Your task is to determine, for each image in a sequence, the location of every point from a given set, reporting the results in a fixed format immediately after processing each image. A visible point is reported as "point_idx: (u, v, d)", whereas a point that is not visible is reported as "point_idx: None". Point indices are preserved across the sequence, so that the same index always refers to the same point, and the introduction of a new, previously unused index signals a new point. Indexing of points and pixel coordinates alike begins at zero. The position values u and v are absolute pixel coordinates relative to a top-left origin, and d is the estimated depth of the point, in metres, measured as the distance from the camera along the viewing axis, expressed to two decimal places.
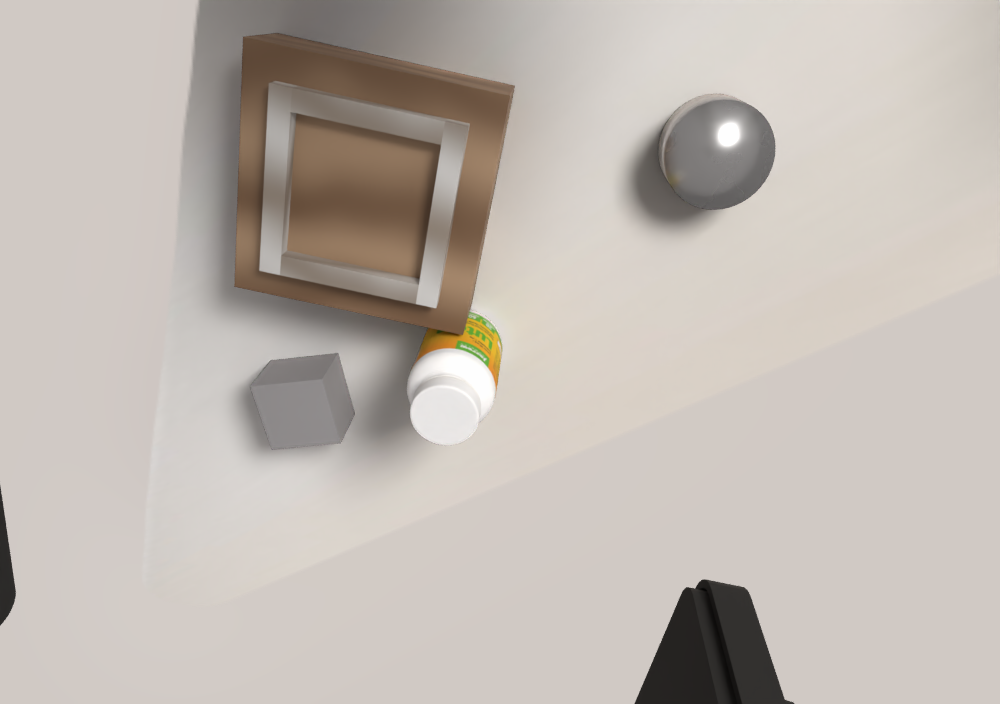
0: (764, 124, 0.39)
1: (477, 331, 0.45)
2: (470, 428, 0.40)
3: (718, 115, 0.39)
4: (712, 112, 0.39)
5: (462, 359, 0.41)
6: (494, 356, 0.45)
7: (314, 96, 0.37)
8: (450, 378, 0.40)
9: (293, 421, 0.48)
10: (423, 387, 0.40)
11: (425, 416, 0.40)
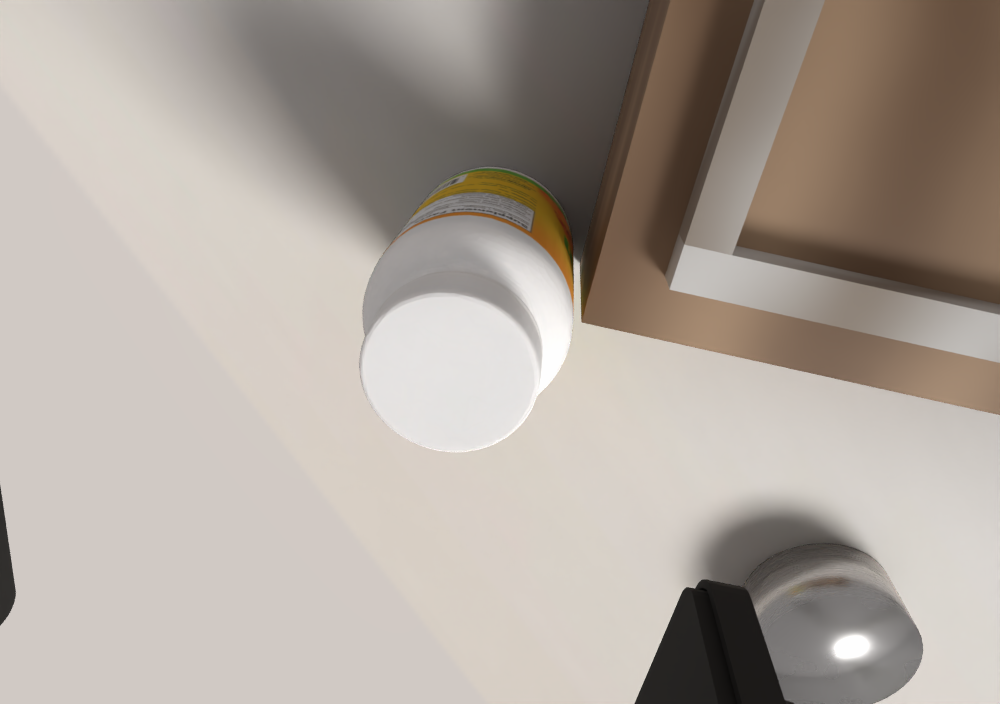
0: (872, 699, 0.28)
1: None
2: (419, 434, 0.16)
3: (899, 654, 0.27)
4: (907, 647, 0.26)
5: (559, 363, 0.18)
6: None
7: None
8: None
9: None
10: (524, 324, 0.15)
11: (444, 331, 0.15)
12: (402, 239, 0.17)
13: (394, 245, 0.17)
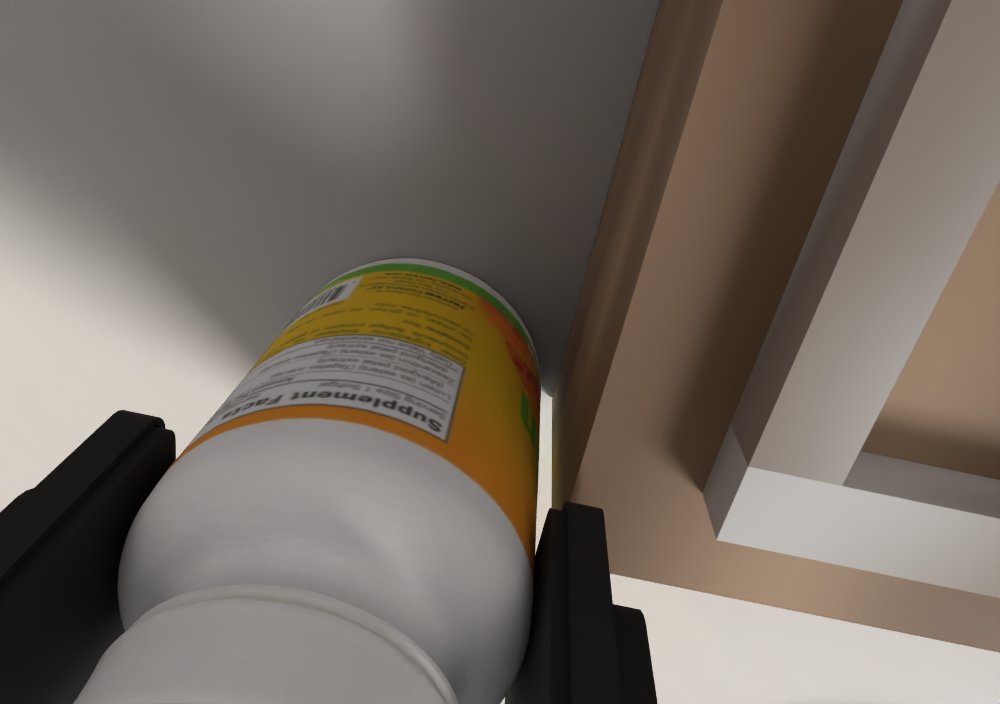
0: None
1: None
2: None
3: None
4: None
5: (506, 691, 0.09)
6: None
7: None
8: None
9: None
10: None
11: None
12: (179, 472, 0.08)
13: (165, 482, 0.08)
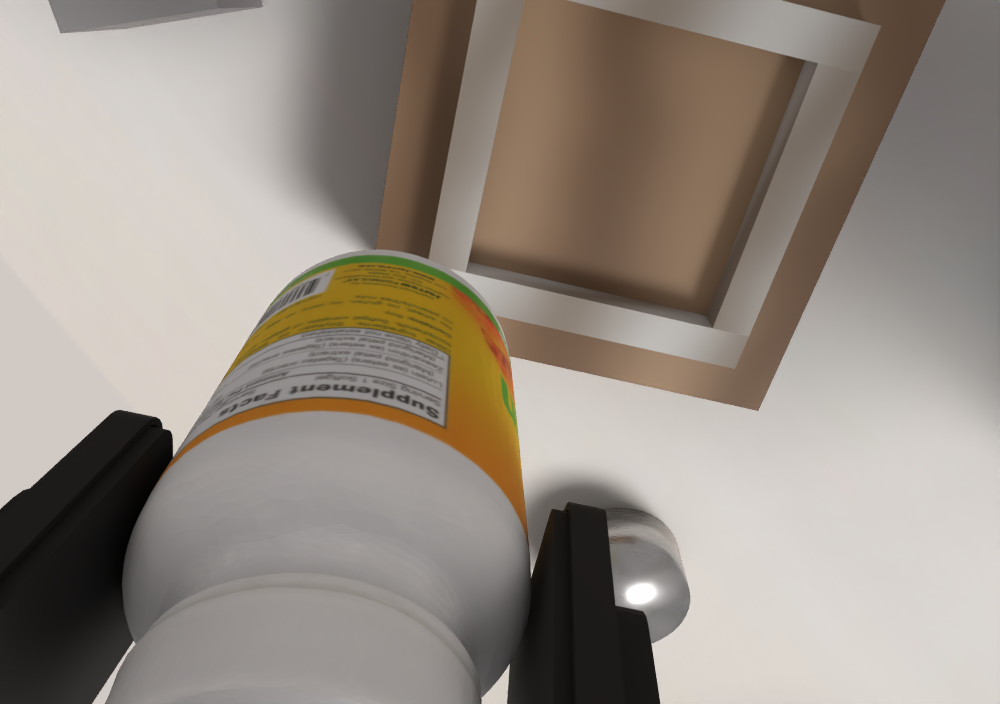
0: (655, 637, 0.33)
1: None
2: None
3: (672, 598, 0.32)
4: (677, 592, 0.32)
5: (510, 660, 0.10)
6: None
7: (835, 117, 0.20)
8: None
9: None
10: None
11: None
12: (185, 470, 0.08)
13: (170, 481, 0.09)
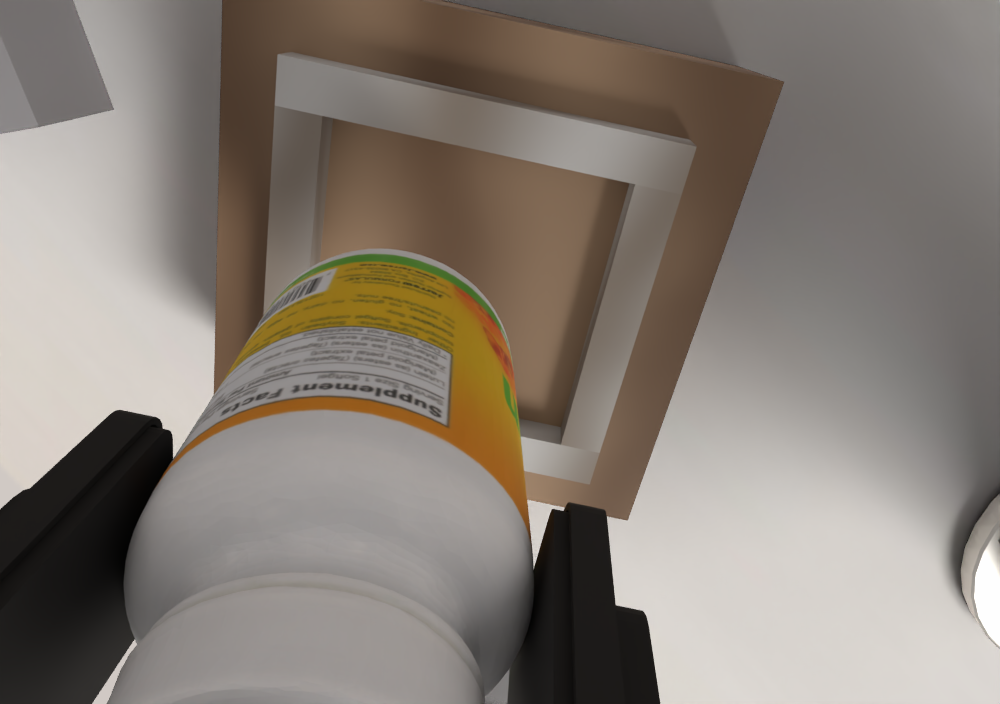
0: None
1: None
2: None
3: None
4: None
5: (513, 661, 0.10)
6: None
7: (660, 237, 0.18)
8: None
9: None
10: None
11: None
12: (187, 469, 0.08)
13: (172, 480, 0.08)
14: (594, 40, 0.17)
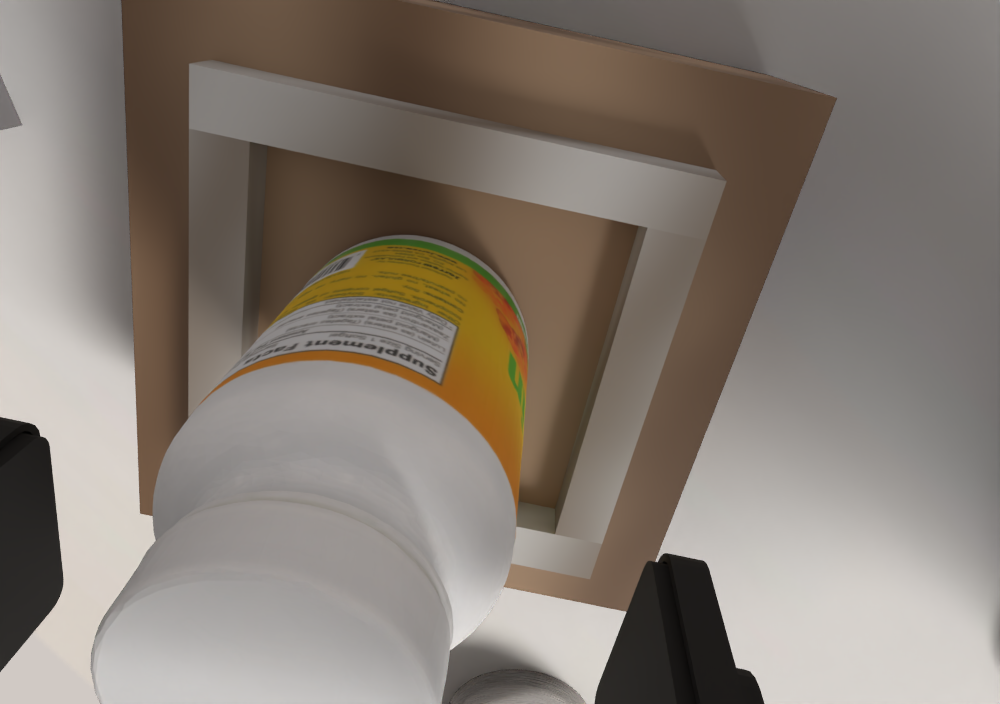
0: None
1: None
2: None
3: None
4: None
5: (491, 605, 0.10)
6: None
7: (679, 292, 0.15)
8: (447, 667, 0.09)
9: None
10: (405, 615, 0.08)
11: (243, 635, 0.08)
12: (209, 405, 0.10)
13: (196, 414, 0.10)
14: (595, 45, 0.14)
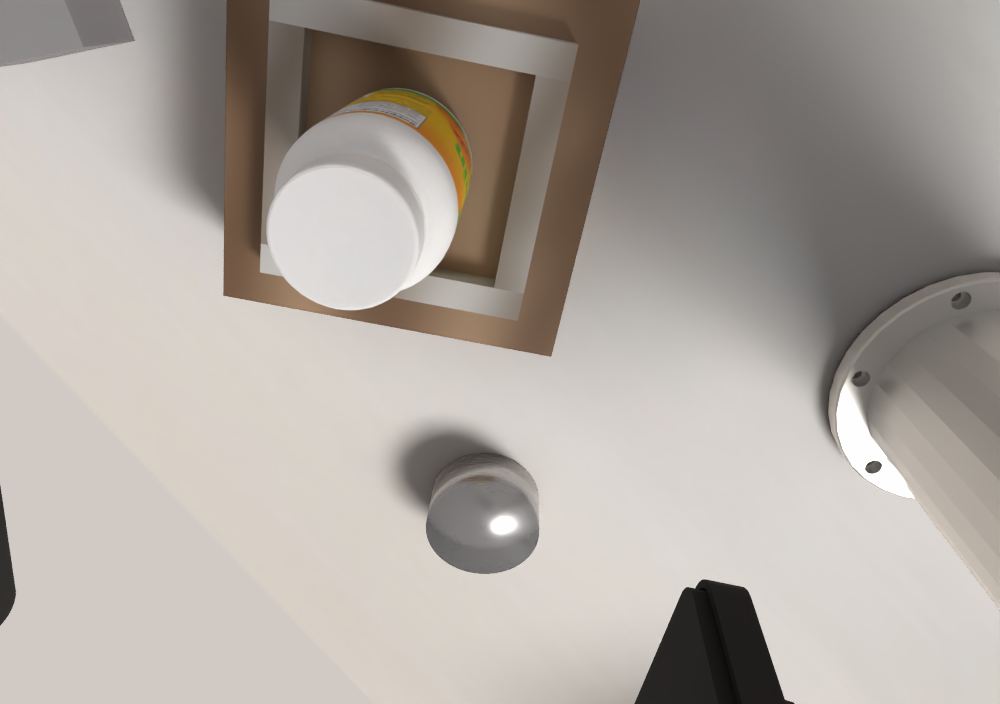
0: (515, 562, 0.39)
1: None
2: (321, 294, 0.19)
3: (523, 527, 0.38)
4: (526, 521, 0.37)
5: (445, 242, 0.21)
6: None
7: (557, 116, 0.25)
8: (423, 241, 0.19)
9: None
10: (404, 193, 0.18)
11: (335, 199, 0.18)
12: (305, 133, 0.20)
13: (298, 139, 0.20)
14: None
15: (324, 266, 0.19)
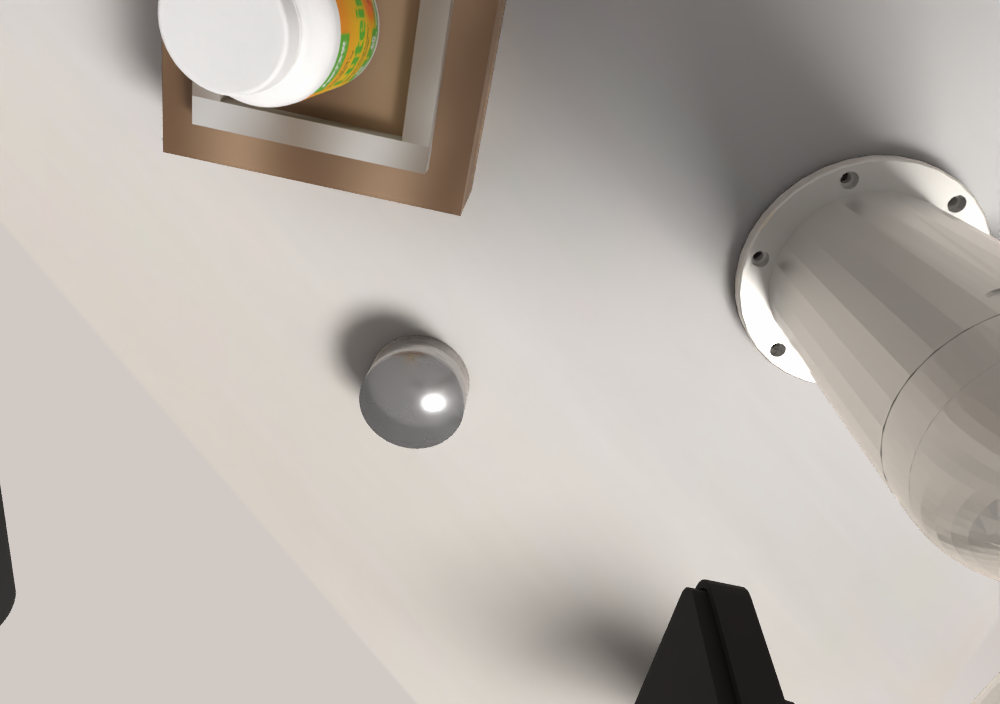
0: (443, 437, 0.41)
1: (357, 58, 0.28)
2: (207, 79, 0.22)
3: (449, 400, 0.40)
4: (451, 394, 0.40)
5: (327, 52, 0.24)
6: (321, 92, 0.27)
7: None
8: (297, 36, 0.22)
9: None
10: None
11: None
12: None
13: None
14: None
15: (208, 51, 0.22)
